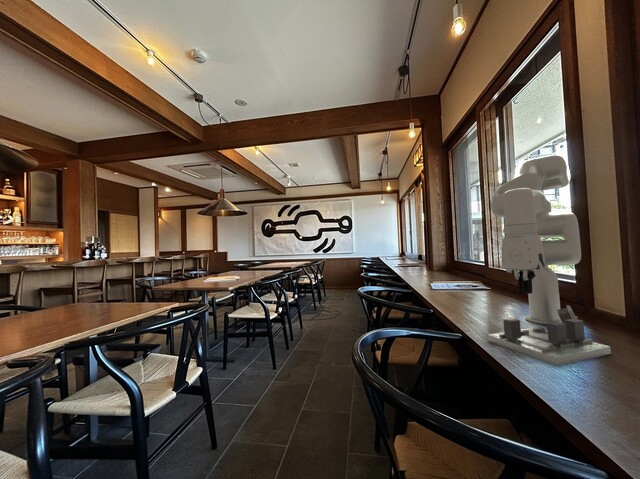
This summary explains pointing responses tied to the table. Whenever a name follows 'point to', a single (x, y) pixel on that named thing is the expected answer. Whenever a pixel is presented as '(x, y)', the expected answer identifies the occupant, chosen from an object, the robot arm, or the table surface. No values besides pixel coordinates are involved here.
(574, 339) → the handle near
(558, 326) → the handle middle
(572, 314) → the electrical switch
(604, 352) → the panel
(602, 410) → the table surface
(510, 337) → the orange striped slider handle
